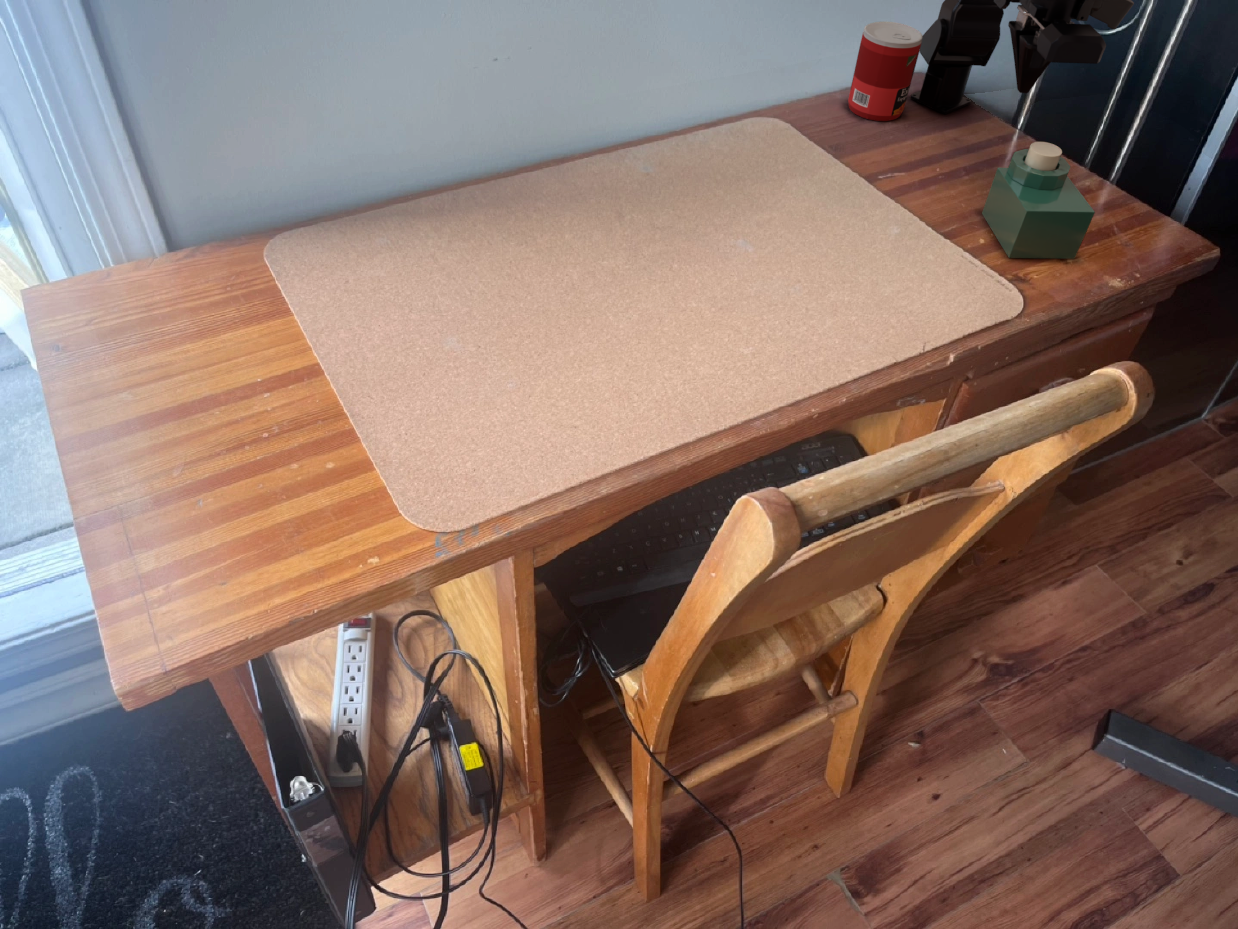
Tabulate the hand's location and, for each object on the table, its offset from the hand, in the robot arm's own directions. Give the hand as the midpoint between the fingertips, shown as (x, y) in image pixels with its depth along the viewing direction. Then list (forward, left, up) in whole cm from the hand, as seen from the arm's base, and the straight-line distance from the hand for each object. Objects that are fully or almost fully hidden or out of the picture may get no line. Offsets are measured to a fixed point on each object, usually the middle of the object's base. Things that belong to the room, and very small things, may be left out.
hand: (1022, 91), depth 119 cm
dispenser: (+8, +10, -12) cm, 18 cm away
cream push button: (+6, +8, -4) cm, 11 cm away
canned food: (-3, -23, -12) cm, 26 cm away
